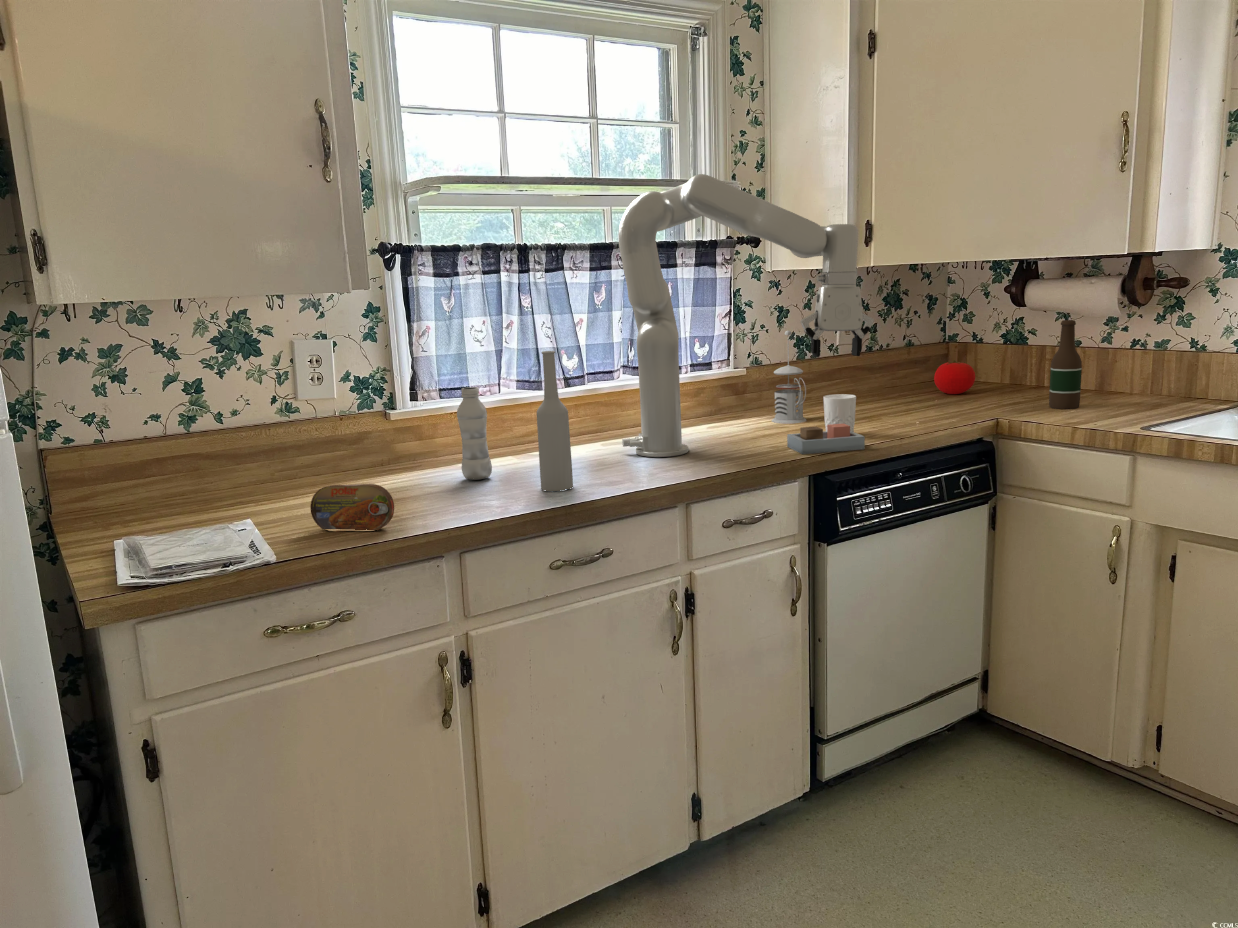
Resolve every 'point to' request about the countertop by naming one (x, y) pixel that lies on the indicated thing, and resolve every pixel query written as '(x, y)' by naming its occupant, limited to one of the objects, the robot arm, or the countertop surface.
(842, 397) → the white cup
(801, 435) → the block walnut
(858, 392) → the countertop surface
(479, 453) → the plastic bottle
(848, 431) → the block red
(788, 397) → the french press
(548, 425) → the bottle
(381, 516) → the tin
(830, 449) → the dish
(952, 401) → the countertop surface
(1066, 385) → the beer bottle
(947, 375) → the tomato
